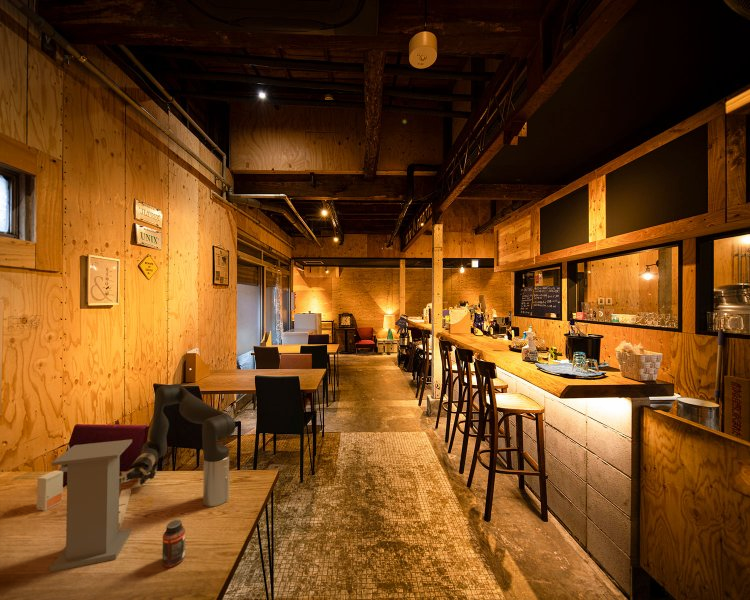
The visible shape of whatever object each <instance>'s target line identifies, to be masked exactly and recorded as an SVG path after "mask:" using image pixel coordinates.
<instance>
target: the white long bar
mask: <svg viewBox="0 0 750 600" xmlns="http://www.w3.org/2000/svg"><path fill="white" fill-rule="evenodd" d="M131 494H132V489H131V487H130V488H125V489H122V490H121V491H120V493H119V527H118V530H121V528H122V524H123V522H124V517H125V514H126V512H127V508H128V504H129V501H130V498H131Z"/></svg>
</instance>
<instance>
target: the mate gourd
mask: <svg viewBox="0 0 750 600" xmlns="http://www.w3.org/2000/svg"><path fill="white" fill-rule="evenodd" d="M66 445H67V450H69V449H70V448H71V447H70V445H69V444H66ZM58 471H63V488H65V487H67V464H63V465H60V467H59V468H58Z"/></svg>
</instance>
